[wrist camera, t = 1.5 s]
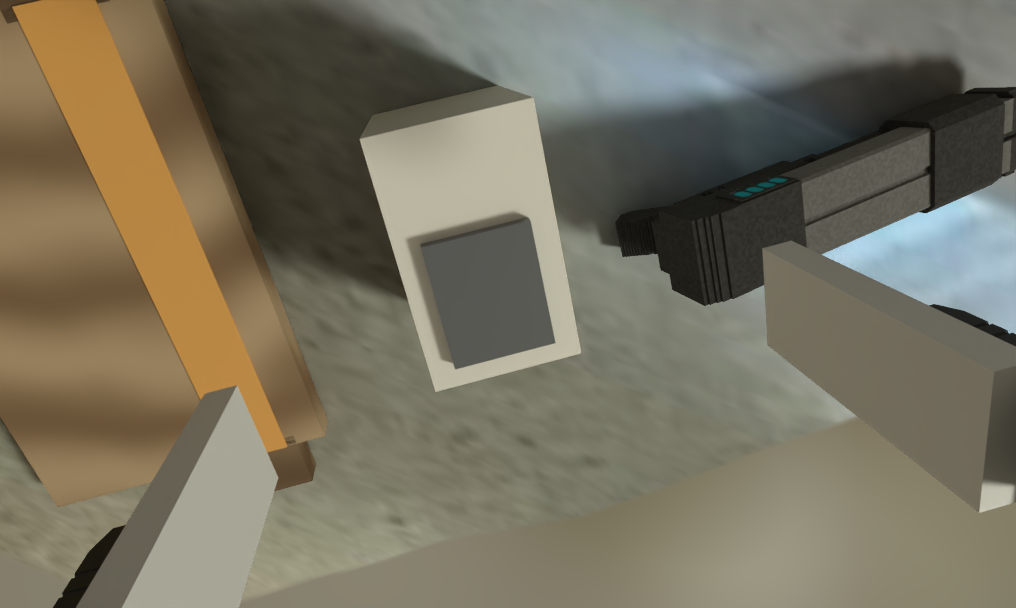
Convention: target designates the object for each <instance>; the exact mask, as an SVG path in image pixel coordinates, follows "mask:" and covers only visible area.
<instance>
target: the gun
mask: <svg viewBox="0 0 1016 608" xmlns="http://www.w3.org/2000/svg"><path fill="white" fill-rule="evenodd" d="M879 129H880V130H879V131H877V132H874V133H872V134H869V135H867V136H864V137H862V138H859V139H856V140H854V141H851V142H849V143H846V144H844V145H841V146H839V147H836V148H834V149H831V150H829V151H826V152H824V153H821V154H818V155H815V154H811V155H809V156H806V157H804V158H801V159H799V160H796V161H794V162H788V161H781V162H779V163H776V164H774V165H771V166H769V167H766V168H764V169H761V170H758V171H756V172H753V173H751V174H748V175H746V176H743V177H741V178H738V179H735V180H733V181H730V182H728V183H725V184H723V185H720V186H718V187H715V188H712V189H709V190H707V191H705V192H702V193H700V194H697V195H695V196H692V197H689V198H687V199H684V200H682V201H679V202H677V203H674V205H672V206H670V207H662V208H653V209H647V210H646V209H645V210H638V211H637V210H636V211H631V212H628V213H625V214H622V215H621V216H620V217H619V219H618V220H617V221H616V222H615V223H616V228H617V233H618V237H619V242H620V247H621V252H622V256H623V257H625V256H626V257H627V256H636V255H637V256H638V255H640V256H641V255H650V254H652V253H654V254H658V258H659V263H660V268H661V270H662V271H664V272H666V273H668V274H670V279H671V285H672V290H674V291H676V292H678V293H680V294H682V295H684V296H686V297H688V298H690V299H692V300H694V301H696V302H698V303H700V304H702V305H704V306H706V305H708V304H710V305H711V304H713V303H716V302H717V303H719V302H721V301H723V302H724V301H727V300H729V299H731V298H732V299H734V298H737V297H739V296H741V295H743V294H746V293H748V292H750V291H752V290H754V289H756V288H758V287H760V286H763V285H764V269H763V251H762V248H765V247H769V246H773V245H777V244H781V243H785V242H788V241H793V242H795V243H797V244H799V245H801V246H804V247H806V248H808V249H810V250H812V251H814V252H816V253H818V254H823V253H826V252H828V251H830V250H833V249H835V248H837V247H839V246H842V245H844V244H846V243H849V242H851V241H853V240H855V239H858V238H860V237H862V236H865V235H867V234H869V233H871V232H874V231H876V230H878V229H881V228H883V227H885V226H887V225H890V224H892V223H894V222H897V221H899V220H901V219H903V218H906V217H908V216H910V215H913V214H915V213H917V212H922V213H928V212H930V211H933V210H935V209H937V208H939V207H942V206H944V205H946V204H948V203H951V202H953V201H955V200H958V199H960V198H962V197H964V196H967V195H969V194H971V193H974V192H976V191H978V190H980V189H983V188H985V187H987V186H989V185H992V184H993V183H994V182H995V181H997V180H998V179H999V178H1001V177H1002V176H1007V175H1010V174H1012V173H1014V170H1015V169H1016V87H1007V88H974V89H971V90H968V91H966V92H965V93H964V94H951V95H949V96H946V97H943V98H941V99H938V100H936V101H933V102H931V103H928V104H926V105H923V106H920V107H918V108H915V109H913V110H910V111H908V112H905V113H903V114H900V115H897V116H895V117H892V118H890V119H887V120H886V121H885V122H884V123H883V125H882V126H881V127H880V128H879Z"/></svg>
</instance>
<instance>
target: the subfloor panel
mask: <svg viewBox="0 0 1016 608" xmlns="http://www.w3.org/2000/svg"><path fill="white" fill-rule="evenodd" d="M236 385H237V386H238V388H239V390H240V393H241V395H242V397H243V399H244V402H245V404H246V406H247V408H248V411H249V413H250V415H251V417H252V420H253V422H254V424H255V426H256V429H257V431H258V433H259V435H260V438H261V440H262V442H263V444H264V447H265V449H266V451H267V453H268V456H269V458H270V460H271V462H272V465H273V467H274V469H275V471H276V474H277V476H278V481H277V484H276V487H275V490H274V491H276V490H280V489H284V488H288V487H291V486H295V485H299V484H302V483H306V482H310V481H312V480H313V476H314V471H315V467H316V463H315V460H314V458H313V456H312V453H311V451H310V448H309V446H308V443H307V441H308V440H312V439H316V438H320V437H323V436H325V432H326V428H327V423H328V420H327V417H326V415H325V412H324V410H323V407H322V404H321V402H320V399H319V397H318V394H317V392H316V389H315V386H314V384H313V381H312V379H311V376H310V374H309V371H308V369H307V366H306V363H305V361H304V358H303V356H302V353H301V351H300V348H299V345H298V343H297V340H296V338H295V335H294V333H293V330H292V328H291V325H290V322H289V320H288V317H287V315H286V312H285V310H284V307H283V304H282V302H281V299H280V297H279V294H278V292H277V289H276V287H275V284H274V281H273V279H272V276H271V274H270V271H269V269H268V266H267V263H266V261H265V258H264V256H263V253H262V251H261V248H260V246H259V243H258V240H257V238H256V235H255V233H254V230H253V228H252V225H251V222H250V220H249V217H248V215H247V212H246V210H245V207H244V205H243V202H242V199H241V197H240V194H239V192H238V189H237V187H236V184H235V181H234V179H233V176H232V174H231V171H230V169H229V166H228V164H227V161H226V158H225V156H224V153H223V151H222V148H221V146H220V143H219V141H218V138H217V135H216V133H215V130H214V128H213V125H212V123H211V120H210V117H209V115H208V112H207V110H206V107H205V105H204V102H203V100H202V97H201V94H200V92H199V89H198V87H197V84H196V82H195V79H194V76H193V74H192V71H191V69H190V66H189V64H188V61H187V59H186V56H185V53H184V51H183V48H182V46H181V43H180V41H179V38H178V35H177V33H176V30H175V28H174V25H173V23H172V20H171V18H170V15H169V12H168V10H167V7H166V5H165V2H164V0H0V417H1V419H2V420H3V422H4V424H5V425H6V427H7V428H8V430H9V431H10V433H11V435H12V436H13V438H14V439H15V441H16V442H17V444H18V445H19V447H20V449H21V450H22V452H23V453H24V455H25V456H26V458H27V460H28V461H29V463H30V464H31V466H32V467H33V469H34V471H35V472H36V474H37V475H38V477H39V478H40V480H41V482H42V483H43V485H44V486H45V488H46V489H47V491H48V493H49V494H50V496H51V497H52V499H53V500H54V502H55V503H56V505H57V507H61V506H64V505H68V504H72V503H76V502H79V501H83V500H87V499H91V498H94V497H98V496H102V495H106V494H109V493H113V492H117V491H121V490H124V489H128V488H132V487H136V486H139V485H143V484H147V483H151V482H152V481H153V479H154V477H155V476H156V474H157V472H158V471H159V469H160V467H161V466H162V464H163V462H164V461H165V459H166V457H167V456H168V454H169V452H170V451H171V449H172V447H173V446H174V444H175V442H176V441H177V439H178V437H179V436H180V434H181V432H182V431H183V429H184V427H185V426H186V424H187V422H188V421H189V419H190V417H191V416H192V414H193V412H194V411H195V409H196V407H197V406H198V404H199V403H200V401H201V399H202V398H203V396H204V394H205V393H209V392H213V391H217V390H221V389H224V388H228V387H232V386H236Z"/></svg>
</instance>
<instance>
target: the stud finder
mask: <svg viewBox="0 0 1016 608" xmlns="http://www.w3.org/2000/svg"><path fill="white" fill-rule="evenodd" d="M360 142H361V146H362V149H363V152H364V156H365V159H366V162H367V166H368V169H369V172H370V176H371V179H372V182H373V186H374V189H375V192H376V196H377V199H378V202H379V206H380V209H381V212H382V215H383V219H384V222H385V225H386V229H387V232H388V235H389V239H390V242H391V245H392V249H393V252H394V255H395V259H396V262H397V265H398V269H399V272H400V275H401V279H402V282H403V285H404V289H405V292H406V295H407V298H408V302H409V305H410V308H411V312H412V315H413V318H414V322H415V325H416V328H417V332H418V335H419V338H420V342H421V345H422V348H423V352H424V355H425V358H426V362H427V365H428V368H429V371H430V375H431V378H432V381H433V385H434V388H435V391H436V392H437V391H441V390H445V389H448V388H452V387H456V386H460V385H463V384H467V383H471V382H475V381H478V380H482V379H486V378H490V377H494V376H497V375H501V374H505V373H509V372H512V371H516V370H520V369H524V368H527V367H531V366H535V365H539V364H543V363H546V362H550V361H554V360H558V359H561V358H565V357H569V356H573V355H577V354H580V353H581V349H580V344H579V339H578V333H577V328H576V323H575V317H574V312H573V306H572V301H571V296H570V290H569V285H568V280H567V274H566V269H565V264H564V258H563V253H562V248H561V242H560V237H559V232H558V226H557V221H556V216H555V210H554V205H553V200H552V194H551V189H550V184H549V178H548V173H547V168H546V162H545V157H544V152H543V146H542V141H541V136H540V130H539V125H538V119H537V114H536V109H535V103H534V98H533V97H530V96H528V95H525V94H522V93H519V92H516V91H513V90H510V89H507V88H504V87H501V86H498V85H497V86H493V87H489V88H484V89H480V90H476V91H472V92H468V93H463V94H459V95H455V96H451V97H446V98H442V99H438V100H434V101H430V102H425V103H421V104H417V105H413V106H409V107H404V108H400V109H396V110H392V111H387V112H383V113H379V114H375V115H372V117H371V119H370V121H369V122H368V124H367V126H366V128H365V130H364V132H363V134H362V135H361V137H360Z"/></svg>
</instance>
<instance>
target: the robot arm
mask: <svg viewBox="0 0 1016 608" xmlns="http://www.w3.org/2000/svg"><path fill="white" fill-rule="evenodd" d="M762 251H763V269H764V287H765V305H766V323H767V340H768V346H769V347H770V348H772V349H773V350H774V351H776V352H777V353H778V354H779V355H781V356H782V357H783V358H784V359H786V360H787V361H788V362H789V363H791V364H792V365H793V366H794V367H796V368H797V369H798V370H800V371H801V372H802V373H803V374H805V375H806V376H807V377H808V378H810V379H811V380H812V381H813V382H815V383H816V384H817V385H818V386H820V387H821V388H822V389H823V390H825V391H826V392H827V393H829V394H830V395H831V396H832V397H834V398H835V399H836V400H837V401H839V402H840V403H841V404H842V405H844V406H845V407H846V408H847V409H849V410H850V411H851V412H853V413H854V414H855V415H856V416H858V417H859V418H860V419H861V420H863V421H864V422H865V423H866V424H868V425H869V426H871V427H872V428H873V429H874V430H875V431H877V432H878V433H879V434H880V435H882V436H883V437H884V438H885V439H887V440H888V441H889V442H890V443H892V444H893V445H894V446H895V447H897V448H898V449H899V450H901V451H902V452H903V453H904V454H906V455H907V456H908V457H909V458H911V459H912V460H913V461H914V462H916V463H917V464H918V465H919V466H921V467H922V468H923V469H925V470H926V471H927V472H928V473H930V474H931V475H932V476H933V477H935V478H936V479H937V480H938V481H940V482H941V483H942V484H943V485H945V486H946V487H947V488H948V489H950V490H951V491H952V492H954V493H955V494H956V495H957V496H959V497H960V498H961V499H962V500H964V501H965V502H966V503H967V504H969V505H970V506H971V507H972V508H974V509H975V510H976V511H977V512H979V513H980V512H984V511H987V510H990V509H994V508H997V507H1001V506H1004V505H1008V504H1011V503H1015V502H1016V334H1014V333H1010V334H1009V333H1008V331H1007V330H1005V329H1003V328H1001V327H998V326H996V325H994V324H990V325H989V324H988V322H987V321H985V320H983V319H981V318H979V317H976V316H974V315H972V314H970V313H967V312H965V311H962V310H958V309H953V308H949V307H944V306H940V305H936V304H933V305H926V304H924V303H922V302H920V301H918V300H916V299H914V298H912V297H909V296H907V295H905V294H903V293H901V292H899V291H897V290H895V289H893V288H890V287H888V286H886V285H884V284H882V283H880V282H878V281H876V280H873V279H871V278H869V277H867V276H865V275H863V274H861V273H859V272H857V271H854V270H852V269H850V268H848V267H846V266H844V265H842V264H840V263H837V262H835V261H833V260H831V259H829V258H827V257H825V256H823V255H821V254H818V253H816V252H814V251H812V250H810V249H808V248H806V247H804V246H801V245H799V244H797V243H795V242H793V241H788V242H785V243H781V244H777V245H773V246H769V247H765V248H762ZM277 481H278V476H277V474H276V471H275V469H274V467H273V465H272V462H271V460H270V458H269V456H268V453H267V451H266V449H265V447H264V444H263V442H262V440H261V438H260V435H259V433H258V431H257V429H256V426H255V424H254V422H253V420H252V417H251V415H250V413H249V411H248V408H247V406H246V404H245V402H244V399H243V397H242V395H241V393H240V390H239V388H238V386H237V385H236V386H232V387H228V388H224V389H221V390H217V391H213V392H209V393H205V394H204V396H203V398H202V399H201V401H200V403H199V404H198V406H197V407H196V409H195V411H194V412H193V414H192V416H191V417H190V419H189V421H188V422H187V424H186V426H185V427H184V429H183V431H182V432H181V434H180V436H179V437H178V439H177V441H176V442H175V444H174V446H173V447H172V449H171V451H170V452H169V454H168V456H167V457H166V459H165V461H164V462H163V464H162V466H161V467H160V469H159V471H158V472H157V474H156V476H155V477H154V479H153V481H152V482H151V484H150V486H149V487H148V489H147V491H146V492H145V494H144V496H143V497H142V499H141V501H140V502H139V504H138V505H137V507H136V509H135V510H134V512H133V514H132V515H131V517H130V519H129V520H128V522H127V524H126V525H124V526H120V527H117V528H113V529H112V530H111V531H110V532H109V533H108V534H107V535H106V536H105V537H104V538H103V539H102V540H100V541H99V542H98V543H97V544H96V545H95V546H94V547H93V548H92V549H91V550H90V551H89V552H88V554H87V556H86V557H85V559H84V560H83V562H82V563H81V565H80V566H79V568H78V569H77V571H76V573H75V578H73V579H71V580H70V582H69V583H68V585H67V587H66V588H65V590H64V591H63V593H62V594H63V597H62V598H59V599H58V601H57V602H56V604H55V605H54V607H53V608H239V605H240V602H241V598H242V595H243V592H244V589H245V585H246V582H247V579H248V576H249V572H250V569H251V566H252V562H253V559H254V556H255V553H256V549H257V546H258V543H259V540H260V536H261V533H262V530H263V526H264V523H265V520H266V517H267V513H268V510H269V507H270V504H271V500H272V497H273V494H274V490H275V487H276V484H277Z"/></svg>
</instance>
